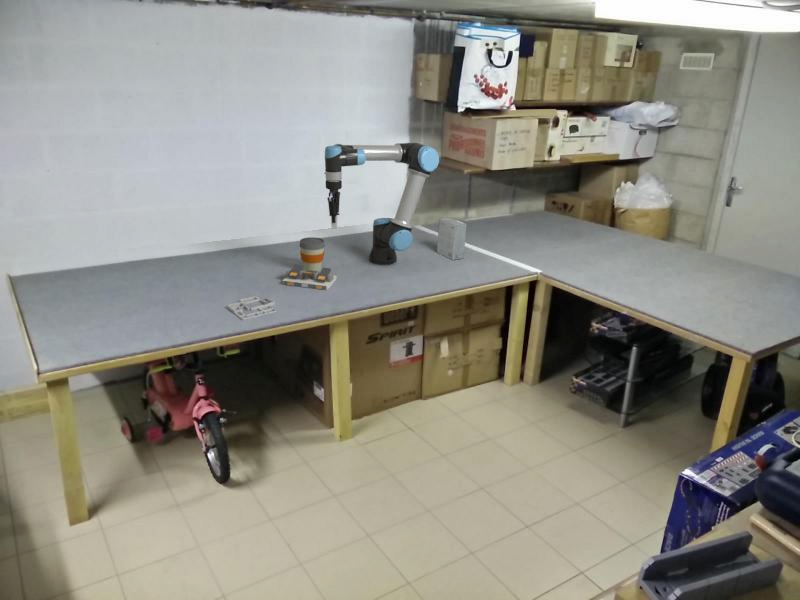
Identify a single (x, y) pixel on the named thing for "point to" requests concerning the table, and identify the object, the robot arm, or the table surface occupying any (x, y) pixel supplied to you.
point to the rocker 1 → (296, 271)
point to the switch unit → (309, 280)
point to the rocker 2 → (323, 274)
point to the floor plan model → (240, 310)
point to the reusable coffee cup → (312, 253)
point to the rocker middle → (309, 273)
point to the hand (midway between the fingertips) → (334, 228)
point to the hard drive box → (451, 238)
